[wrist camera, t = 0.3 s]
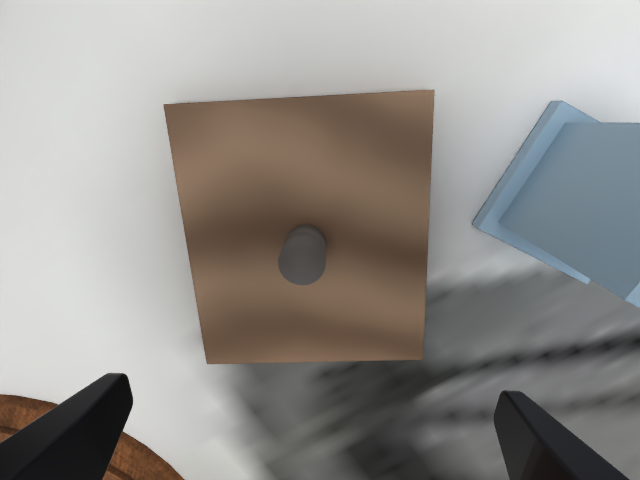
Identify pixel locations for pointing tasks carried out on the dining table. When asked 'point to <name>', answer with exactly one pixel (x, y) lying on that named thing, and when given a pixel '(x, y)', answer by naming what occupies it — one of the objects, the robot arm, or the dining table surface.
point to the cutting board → (129, 456)
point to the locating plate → (307, 224)
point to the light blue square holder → (574, 199)
